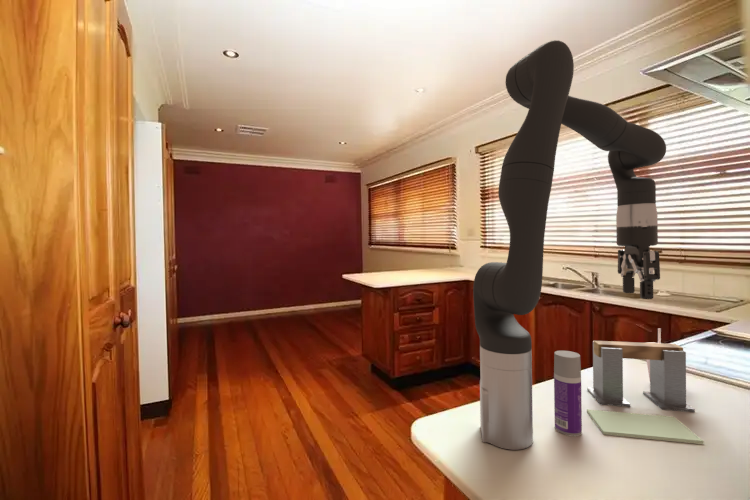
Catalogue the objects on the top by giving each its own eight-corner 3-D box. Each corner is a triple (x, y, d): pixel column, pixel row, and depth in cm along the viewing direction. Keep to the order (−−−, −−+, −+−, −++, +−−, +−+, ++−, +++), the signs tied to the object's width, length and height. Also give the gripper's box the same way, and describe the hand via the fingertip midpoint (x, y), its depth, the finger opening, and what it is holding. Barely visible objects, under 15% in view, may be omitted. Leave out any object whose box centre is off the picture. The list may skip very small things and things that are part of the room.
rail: (598, 357, 81) (598, 344, 81) (593, 353, 84) (593, 340, 84) (683, 361, 77) (683, 347, 77) (675, 357, 80) (675, 344, 80)
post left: (599, 404, 79) (599, 349, 78) (587, 389, 86) (586, 339, 86) (630, 406, 77) (629, 350, 77) (614, 391, 85) (614, 340, 85)
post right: (661, 409, 76) (661, 352, 76) (643, 393, 84) (642, 342, 83) (694, 411, 74) (694, 353, 74) (672, 395, 82) (672, 343, 82)
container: (585, 437, 66) (584, 358, 66) (558, 435, 67) (557, 357, 66) (576, 424, 70) (575, 350, 70) (551, 422, 71) (550, 349, 71)
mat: (603, 434, 67) (603, 431, 67) (586, 412, 75) (586, 409, 75) (703, 444, 63) (703, 440, 63) (674, 419, 71) (674, 416, 71)
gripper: (605, 226, 87) (606, 291, 88) (632, 224, 73) (633, 300, 74) (640, 225, 85) (640, 291, 86) (674, 222, 72) (674, 301, 72)
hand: (637, 295), depth 80 cm, fingers open, 8 cm apart
